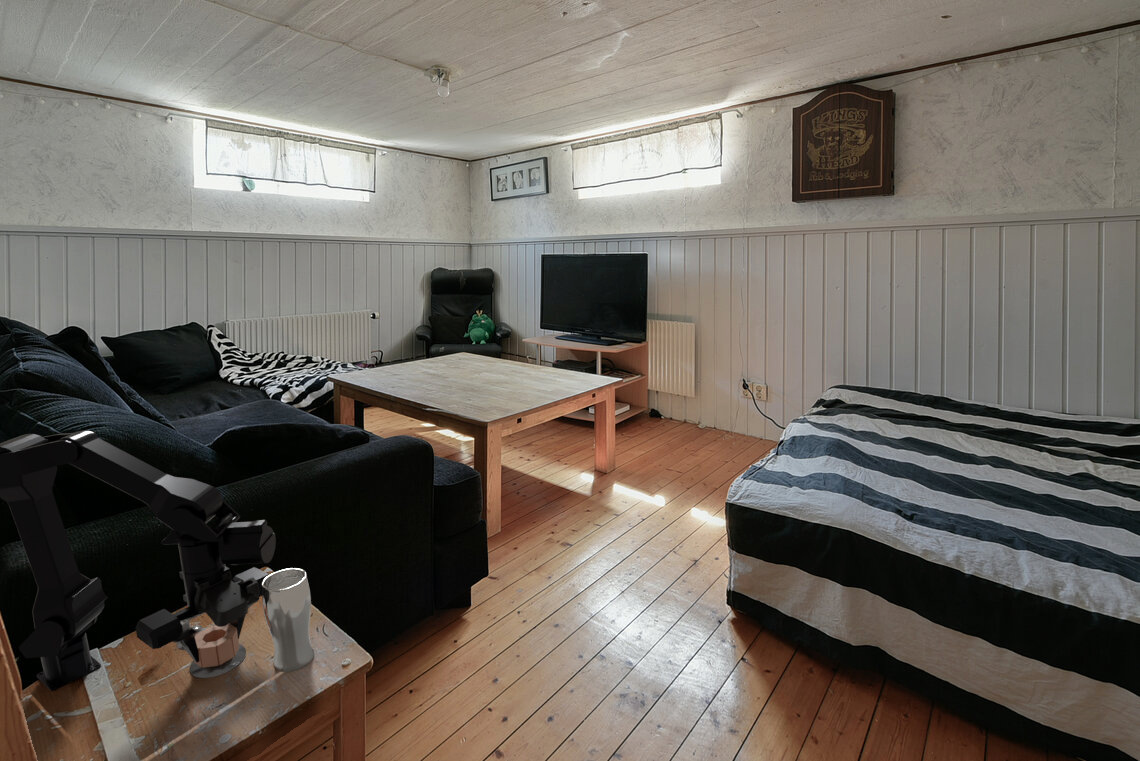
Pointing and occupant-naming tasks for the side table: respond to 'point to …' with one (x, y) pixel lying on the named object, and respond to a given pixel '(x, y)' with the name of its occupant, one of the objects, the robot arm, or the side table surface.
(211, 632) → the octagonal hollow tube
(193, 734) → the side table surface
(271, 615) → the beer glass
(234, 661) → the hub
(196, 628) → the metal knobbed lid
